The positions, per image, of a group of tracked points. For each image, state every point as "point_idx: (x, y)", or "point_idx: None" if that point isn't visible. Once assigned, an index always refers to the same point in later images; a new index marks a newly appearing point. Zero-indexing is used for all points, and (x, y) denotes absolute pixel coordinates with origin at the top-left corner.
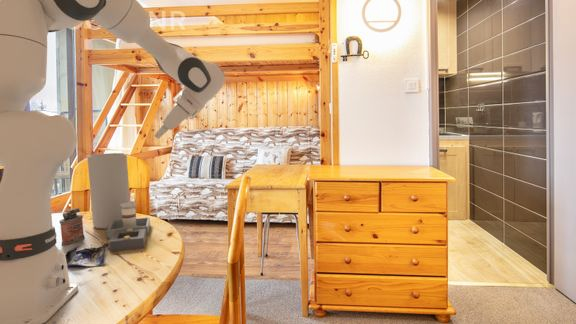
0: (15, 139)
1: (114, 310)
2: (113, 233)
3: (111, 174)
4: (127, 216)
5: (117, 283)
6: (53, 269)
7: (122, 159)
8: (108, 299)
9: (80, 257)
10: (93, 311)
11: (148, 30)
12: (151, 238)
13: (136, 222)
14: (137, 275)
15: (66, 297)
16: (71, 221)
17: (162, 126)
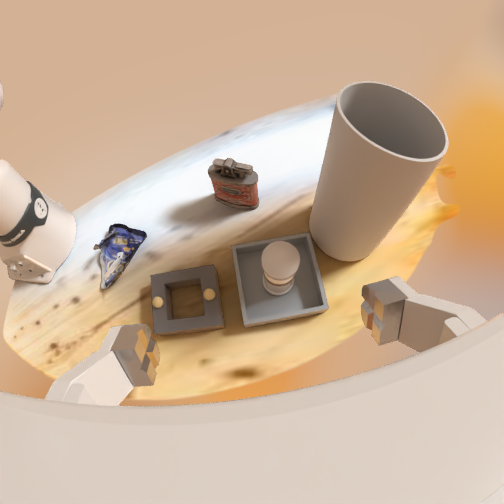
0: None
1: (11, 329)
2: (202, 266)
3: (338, 169)
4: (263, 271)
5: (50, 321)
6: (17, 259)
7: (385, 165)
8: (25, 320)
9: (132, 246)
10: (14, 311)
11: None
12: (220, 339)
13: (316, 282)
14: (62, 342)
15: (30, 280)
16: (218, 180)
17: (53, 392)
